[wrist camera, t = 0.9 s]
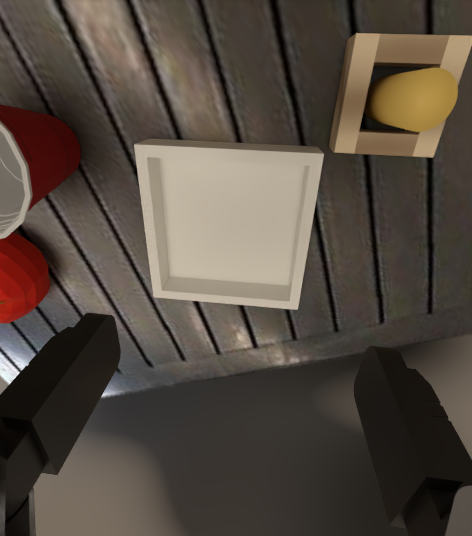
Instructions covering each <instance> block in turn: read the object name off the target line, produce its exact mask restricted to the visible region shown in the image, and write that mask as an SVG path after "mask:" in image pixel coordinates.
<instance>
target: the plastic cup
mask: <svg viewBox="0 0 472 536" xmlns="http://www.w3.org/2000/svg"><path fill="white" fill-rule="evenodd" d="M80 159H81V150H80V144H79V142H78V140H77V138H76V136H75V134H74V132H73V131H72V130H71V129H70V128H69V127H68V126H67V124H66V123H64V122H62V121H61V120H59V119H57V118H56V117H53V116H51V115H47V114H42V113H36V112H32V111H29V110H24V109H19V108H15V107H10V106H5V105H0V239H2V238H6V237H7V236H8V235H9V234H11V233H12V232H13V231H14V230H15V229H16V228H17V227H18V226H19V225H20V224H22V223H23V222H24V220H25V219H26V216H27V213H28V211H29V210H30V209H31V208H32V207H33V206H34V205H35V204H36V203H37V202H39V201H40V200H41V199H42V198H44V197H45V196H46V195H48V194H49V193H50V192H51V191H53V190H54V189H55V188H56V187H57V186H58V185H60V184H61V183H62V182H63V181H64V180H65V179H66V178H67V177H69V176H70V175H71V174H72V173H73V172H74V171H75V170H76V169H77V167H78V166H79V162H80Z"/></svg>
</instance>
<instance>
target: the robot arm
mask: <svg viewBox="0 0 472 536" xmlns="http://www.w3.org/2000/svg"><path fill="white" fill-rule="evenodd" d="M120 354H121V350H120V344H119V338H118V333H117V328H116V322H115V318H114V317H113V316H112V315H105V314H97V313H86V314H85V315H84V316H83V317H82V318H81V320H80V321H79V322H78V323H77V324H76V326H75V327H74V328H73V327H67V328H66V329H64V330H62V331H61V332H59V333H58V334H56V335H55V336H53V337H52V338H51V339H50V340H49V341H48V342H47V343H46V344H45V345H44V346H43V348H42V349H41V350H40V351H39V354H36V355H35V357H34V358H33V359H32V360H31V361H30V362H29V365H28V366H26V367H25V368H24V369H23V370H22V371H21V372H20V373H19V374H18V376H17V377H16V378H15V379H14V380H13V381H12V382H11V383H10V385H9V386H8V387H7V388H6V389H5V390H4V391H3V392H2V394H1V395H0V536H36V526H35V500H34V488H33V486H34V484H35V483H36V481H37V479H38V478H39V476H40V474H41V473H47V474H54V475H57V474H58V473H59V471H60V469H61V467H62V466H63V464H64V462H65V460H66V458H67V457H68V455H69V453H70V451H71V450H72V448H73V446H74V444H75V442H76V441H77V439H78V437H79V435H80V433H81V431H82V430H83V428H84V426H85V424H86V423H87V421H88V419H89V417H90V415H91V414H92V412H93V410H94V408H95V407H96V404H97V403H98V401H99V399H100V398H101V396H102V394H103V392H104V390H105V389H106V387H107V385H108V383H109V381H110V380H111V378H112V376H113V374H114V372H115V371H116V369H117V367H118V364H119V360H120ZM354 397H355V402H356V405H357V409H358V413H359V416H360V420H361V424H362V427H363V431H364V435H365V438H366V442H367V446H368V449H369V453H370V457H371V460H372V464H373V468H374V471H375V475H376V479H377V483H378V486H379V490H380V494H381V497H382V501H383V505H384V508H385V512H386V516H387V519H388V523H389V526H395V527H401V528H406V529H407V532H408V535H409V536H472V460H471V458H470V456H469V454H468V452H467V450H466V449H465V447H464V445H463V443H462V441H461V439H460V438H459V436H458V434H457V432H456V430H455V429H454V427H453V425H452V423H451V421H449V420H448V416H447V414H446V412H445V410H444V408H443V407H442V406H441V405H440V401H439V399H438V397H437V395H436V394H435V392H434V390H433V388H432V386H431V385H430V384H429V383H428V382H427V381H426V379H424V377H423V376H422V375H421V374H420V373H419V372H418V371H417V370H416V369H410V368H407V366H406V364H405V362H404V360H403V358H402V356H401V354H400V352H399V351H398V350H397V349H392V348H384V347H375V346H369V347H368V348H367V350H366V353H365V355H364V358H363V360H362V363H361V365H360V368H359V370H358V373H357V376H356V378H355V382H354Z"/></svg>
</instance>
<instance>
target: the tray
mask: <svg viewBox="0 0 472 536" xmlns="http://www.w3.org/2000/svg"><path fill="white" fill-rule="evenodd" d="M134 148H135V156H136V164H137V172H138V179H139V187H140V195H141V203H142V210H143V218H144V226H145V234H146V241H147V249H148V257H149V265H150V273H151V280H152V288H153V296H154V297H158V298H169V299H181V300H192V301H203V302H215V303H226V304H238V305H249V306H260V307H272V308H283V309H295V310H298V305H299V299H300V293H301V287H302V281H303V275H304V269H305V264H306V258H307V252H308V246H309V240H310V234H311V228H312V222H313V216H314V210H315V204H316V198H317V193H318V187H319V181H320V175H321V169H322V163H323V157H324V153H323V152H322V151H321V150H320V149H319V148H318V147H315V146H294V145H274V144H253V143H233V142H212V141H191V140H171V139H147V140H145V141H142V142H139V143H136V144H134Z"/></svg>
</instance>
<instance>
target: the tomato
mask: <svg viewBox="0 0 472 536" xmlns="http://www.w3.org/2000/svg"><path fill="white" fill-rule="evenodd" d="M49 288H50V280H49V277H48V264H47V262H46V260H45V258H44V256H43V254H42V253H41V252H40V250H39V249H38V248H37V247H36V246H35V245H34V244H32V243H31V242H29V241H28V240H26V239H25V238H23V237H22V236H20V235H18V234H16V233H14V232H12V233H11V234H9V235H8V236H7V237H6V238H2V239H0V323H9V322H12V321H14V320H16V319H19V318H20V317H22V316H24V315H26V314H28V313H29V312H30V311H32V310H33V309H34V308H35V307H36V306H37V305H38V304H39V303H40V302H41V301H42V300H43V299H44V297H45V296H46V294H47V293H48V291H49Z"/></svg>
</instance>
